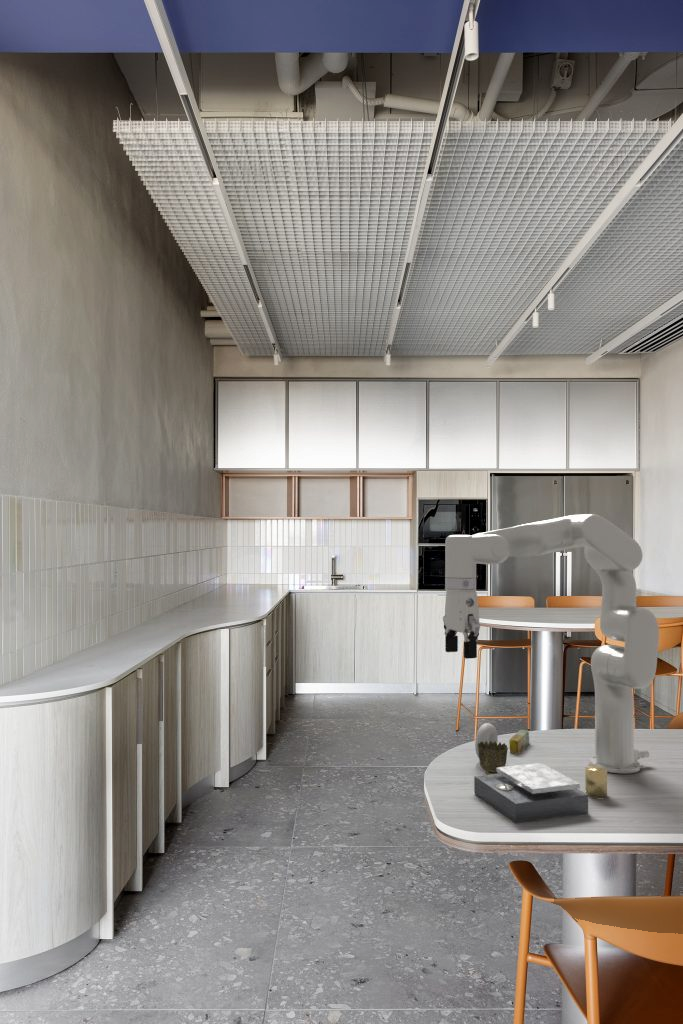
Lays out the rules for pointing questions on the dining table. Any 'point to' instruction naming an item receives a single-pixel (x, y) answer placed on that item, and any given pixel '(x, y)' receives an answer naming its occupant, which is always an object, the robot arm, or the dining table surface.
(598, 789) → the brass weight
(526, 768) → the scale pan
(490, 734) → the grey rounded slab
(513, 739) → the medication box
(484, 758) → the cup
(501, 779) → the scale
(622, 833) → the dining table surface
